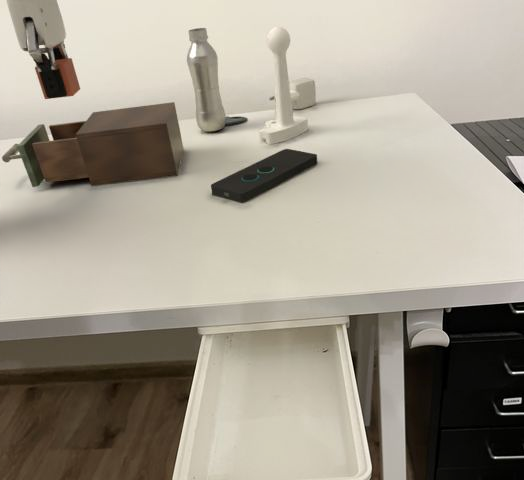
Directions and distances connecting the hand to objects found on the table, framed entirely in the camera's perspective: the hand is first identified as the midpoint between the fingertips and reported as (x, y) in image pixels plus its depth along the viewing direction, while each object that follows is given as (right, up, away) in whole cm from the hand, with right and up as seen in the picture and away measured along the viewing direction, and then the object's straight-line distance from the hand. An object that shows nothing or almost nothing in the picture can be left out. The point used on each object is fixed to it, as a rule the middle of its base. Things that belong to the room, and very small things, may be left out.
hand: (61, 91), depth 92 cm
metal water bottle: (+22, +6, +33) cm, 40 cm away
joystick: (+38, +2, +25) cm, 45 cm away
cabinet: (+9, -7, +18) cm, 21 cm away
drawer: (-5, -8, +18) cm, 20 cm away
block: (0, 0, 0) cm, 0 cm away
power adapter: (+41, +14, +39) cm, 58 cm away
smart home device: (+34, -13, +6) cm, 37 cm away
